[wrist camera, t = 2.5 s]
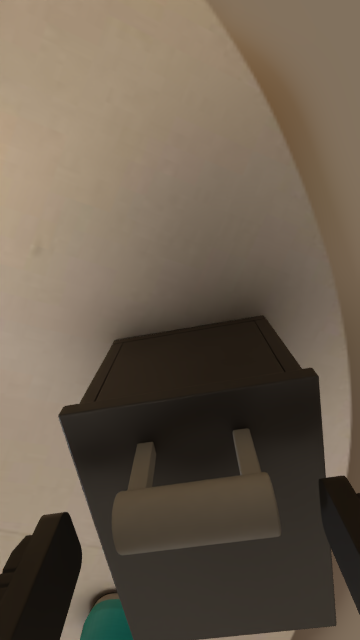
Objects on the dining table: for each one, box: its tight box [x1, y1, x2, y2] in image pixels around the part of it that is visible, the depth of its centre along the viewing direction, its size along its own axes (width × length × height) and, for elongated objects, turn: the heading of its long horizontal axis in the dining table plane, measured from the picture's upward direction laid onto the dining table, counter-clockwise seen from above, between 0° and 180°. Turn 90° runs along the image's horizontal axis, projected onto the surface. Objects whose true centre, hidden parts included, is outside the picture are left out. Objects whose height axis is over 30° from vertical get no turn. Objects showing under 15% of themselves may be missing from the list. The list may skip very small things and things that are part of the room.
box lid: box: [58, 368, 336, 640], centre depth 14 cm, size 14×11×5 cm
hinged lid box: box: [80, 316, 302, 404], centre depth 21 cm, size 14×11×10 cm
